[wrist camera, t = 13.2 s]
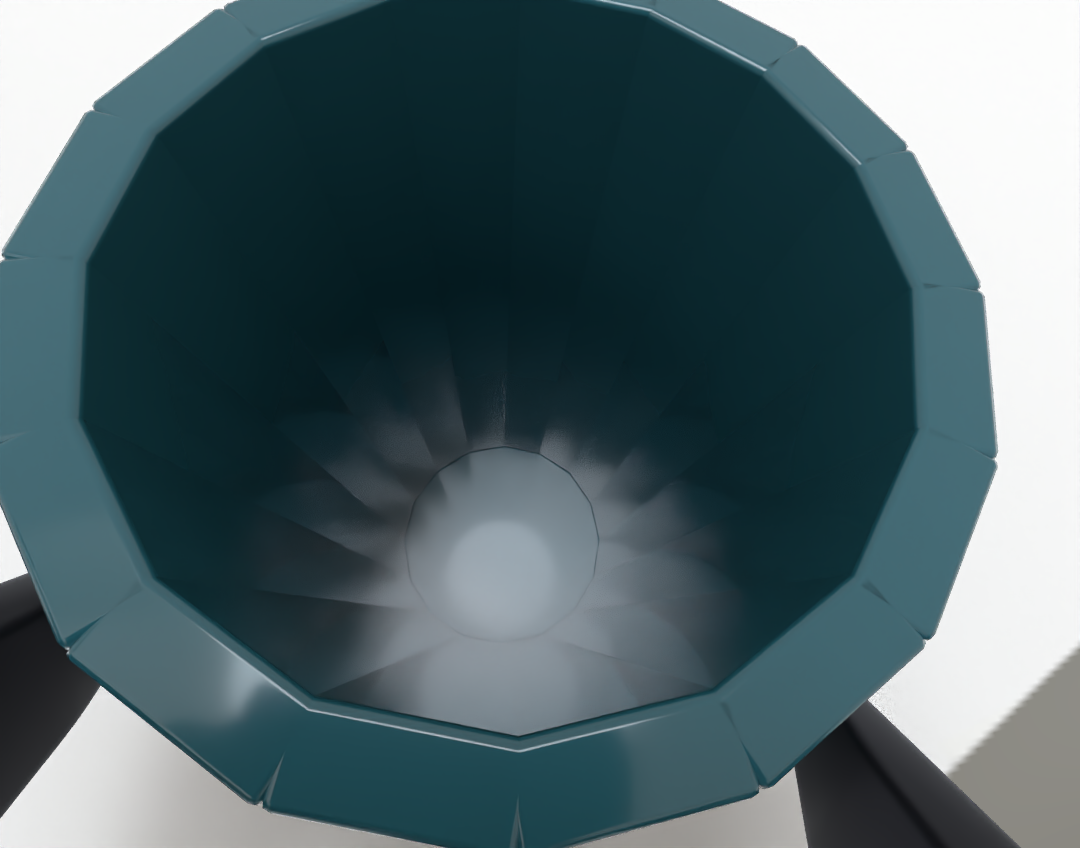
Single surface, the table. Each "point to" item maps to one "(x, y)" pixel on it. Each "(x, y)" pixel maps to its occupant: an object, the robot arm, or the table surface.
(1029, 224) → the table surface
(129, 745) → the table surface
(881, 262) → the tumbler
